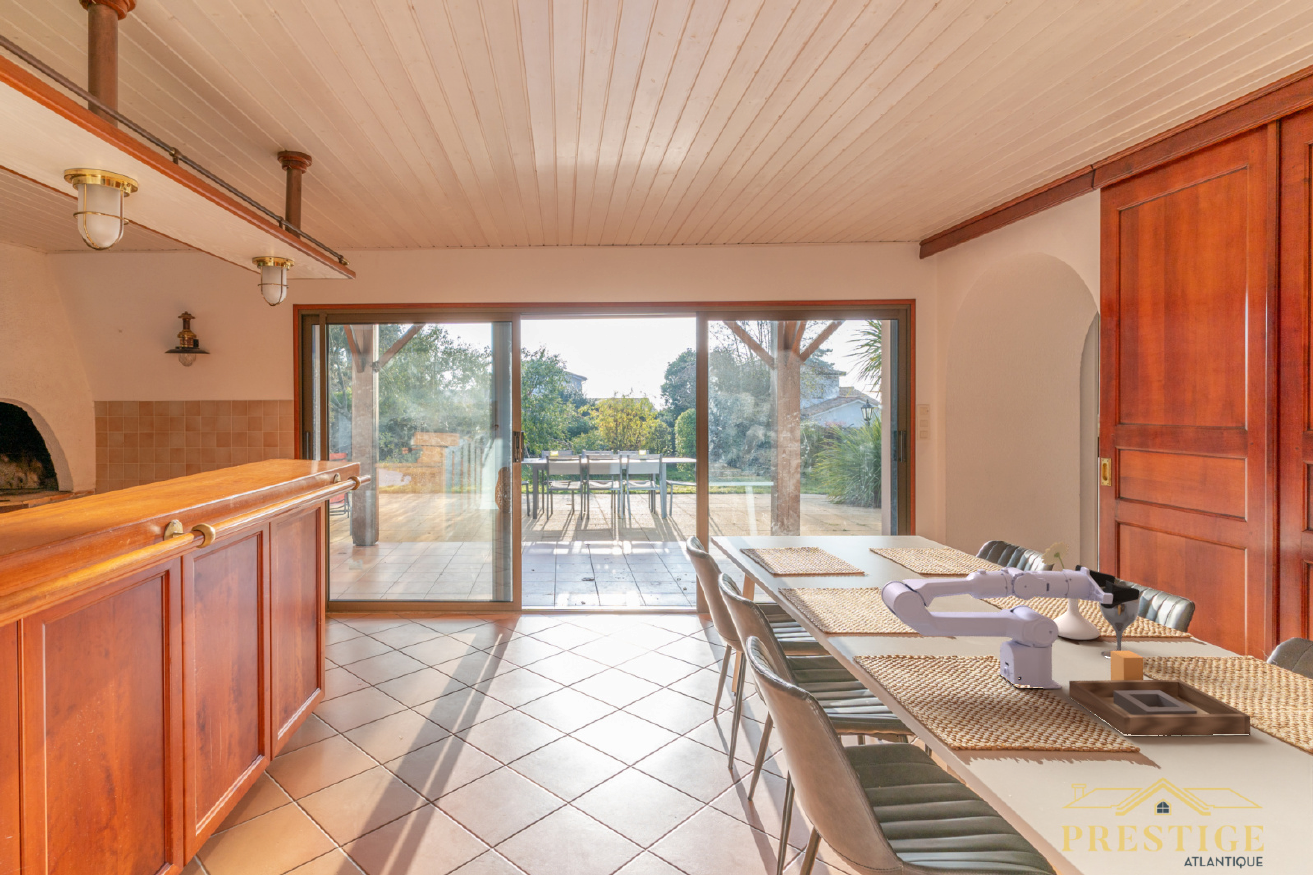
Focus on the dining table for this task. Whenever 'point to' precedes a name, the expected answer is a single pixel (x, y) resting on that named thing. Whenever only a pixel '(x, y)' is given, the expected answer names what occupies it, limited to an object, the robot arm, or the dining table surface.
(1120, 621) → the wine glass
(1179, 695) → the walled box
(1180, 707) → the frame
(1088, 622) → the flower in vase
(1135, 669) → the block
